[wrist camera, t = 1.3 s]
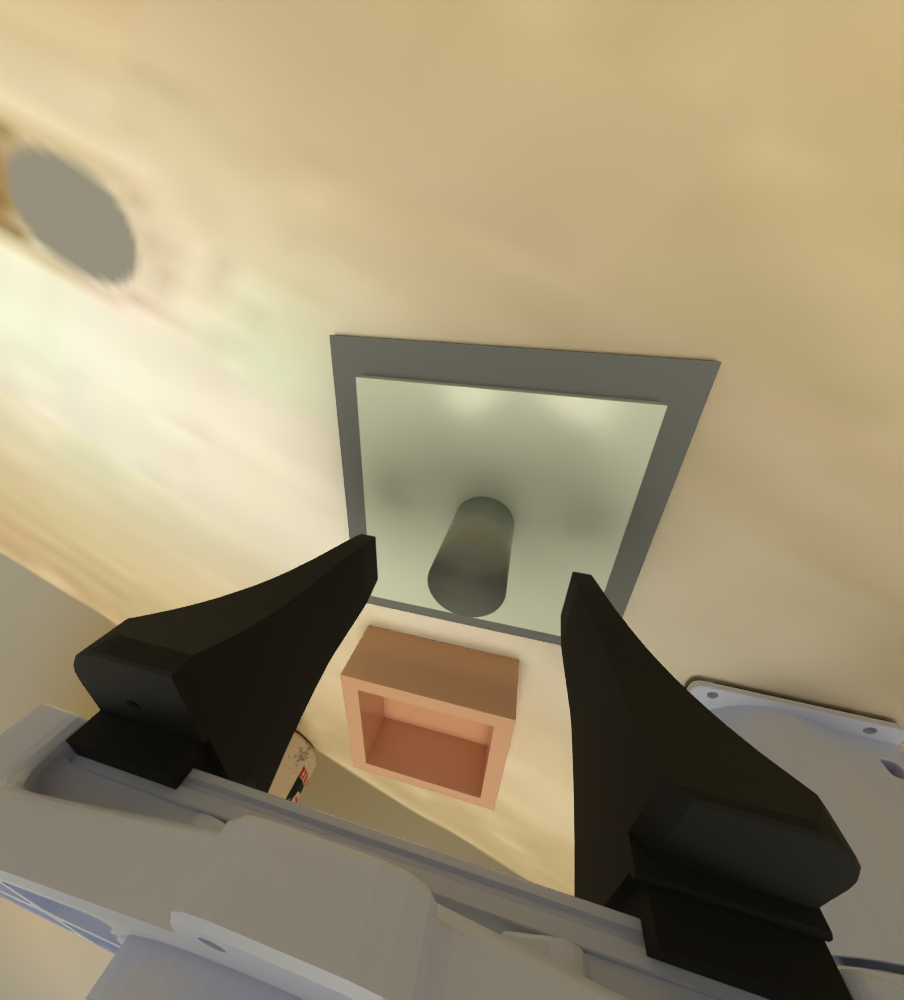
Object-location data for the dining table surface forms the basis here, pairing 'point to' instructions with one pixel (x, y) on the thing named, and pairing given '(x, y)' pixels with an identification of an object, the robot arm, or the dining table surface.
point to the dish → (430, 713)
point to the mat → (539, 371)
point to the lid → (497, 493)
